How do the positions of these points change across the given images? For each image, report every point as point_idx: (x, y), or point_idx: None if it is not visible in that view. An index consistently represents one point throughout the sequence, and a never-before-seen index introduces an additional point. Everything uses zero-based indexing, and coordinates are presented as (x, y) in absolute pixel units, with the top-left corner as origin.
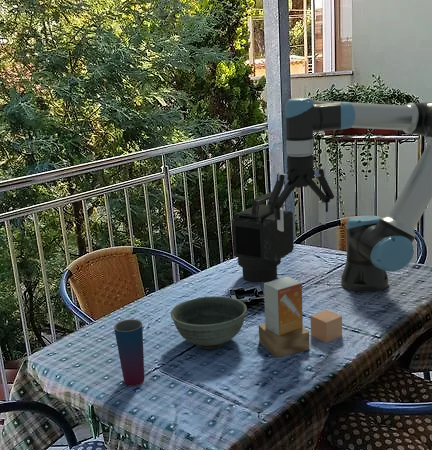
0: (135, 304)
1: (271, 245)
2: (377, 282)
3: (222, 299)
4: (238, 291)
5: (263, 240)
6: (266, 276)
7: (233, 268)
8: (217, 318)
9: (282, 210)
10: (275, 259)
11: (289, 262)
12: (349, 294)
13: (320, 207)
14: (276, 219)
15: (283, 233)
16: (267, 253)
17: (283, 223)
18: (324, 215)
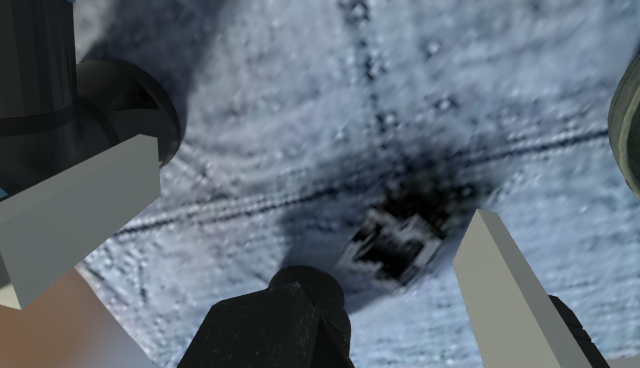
0: (612, 354)
1: (295, 325)
2: (100, 64)
3: (632, 173)
4: (395, 270)
5: (306, 355)
6: (310, 277)
7: None
8: (629, 146)
9: (563, 355)
10: (298, 284)
11: (210, 308)
12: (191, 93)
13: (66, 240)
14: (558, 307)
15: (232, 348)
16: (308, 313)
17: (497, 245)
18: (99, 161)
